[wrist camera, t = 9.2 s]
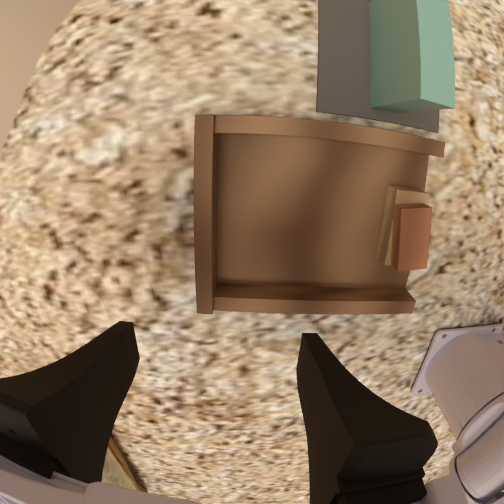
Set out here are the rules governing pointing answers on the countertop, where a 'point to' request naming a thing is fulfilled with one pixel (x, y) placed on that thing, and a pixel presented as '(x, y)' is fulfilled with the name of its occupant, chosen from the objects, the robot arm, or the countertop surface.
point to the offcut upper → (410, 236)
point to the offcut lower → (392, 197)
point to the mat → (353, 66)
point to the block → (411, 55)
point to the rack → (298, 214)
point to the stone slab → (118, 469)
